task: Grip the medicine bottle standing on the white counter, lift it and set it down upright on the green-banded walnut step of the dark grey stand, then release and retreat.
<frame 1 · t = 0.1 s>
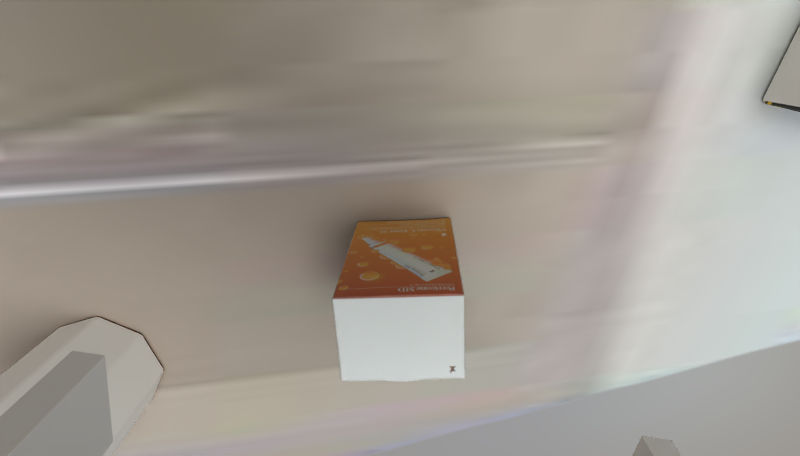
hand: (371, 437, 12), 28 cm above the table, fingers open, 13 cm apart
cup: (109, 362, 46), on the table
small box: (405, 250, 41), on the table
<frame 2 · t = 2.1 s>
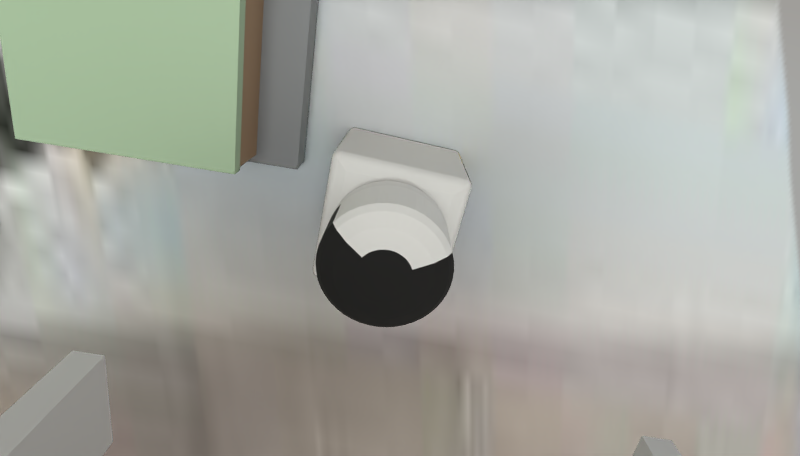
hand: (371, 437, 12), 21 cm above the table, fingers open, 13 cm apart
medicine bottle: (393, 189, 31), on the table
stand: (178, 40, 28), on the table
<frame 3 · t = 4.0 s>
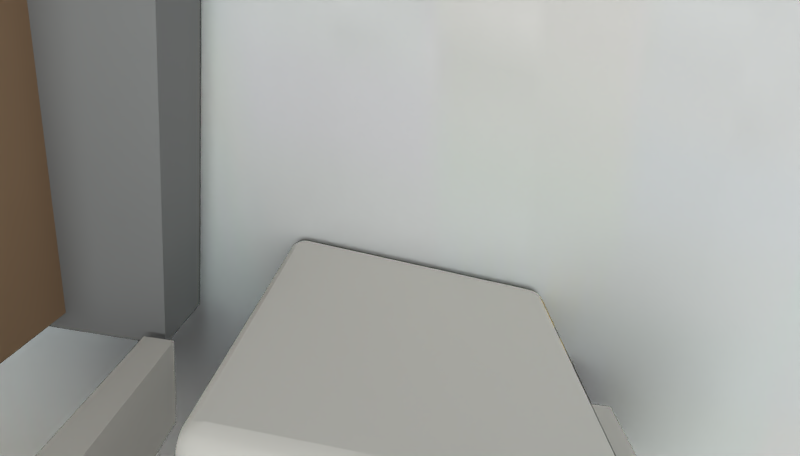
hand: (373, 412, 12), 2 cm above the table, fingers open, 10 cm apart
medicine bottle: (393, 357, 15), on the table
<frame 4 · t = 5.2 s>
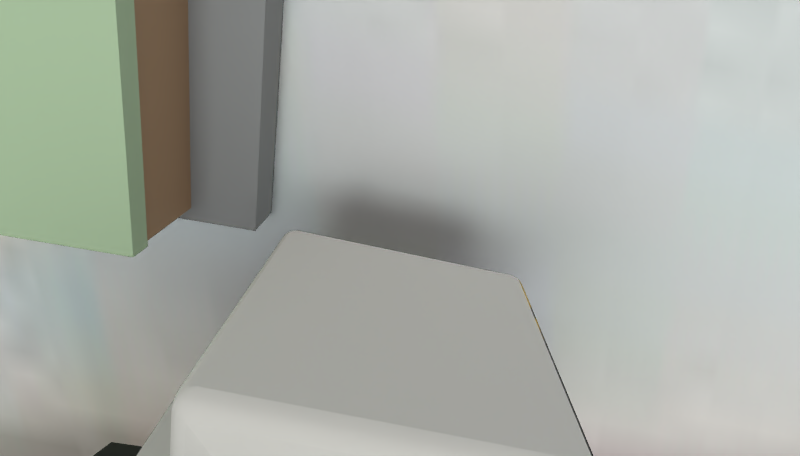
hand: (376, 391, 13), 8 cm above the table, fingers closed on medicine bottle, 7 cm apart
medicine bottle: (383, 342, 15), point 6 cm above the table, touching gripper
stand: (67, 28, 17), on the table
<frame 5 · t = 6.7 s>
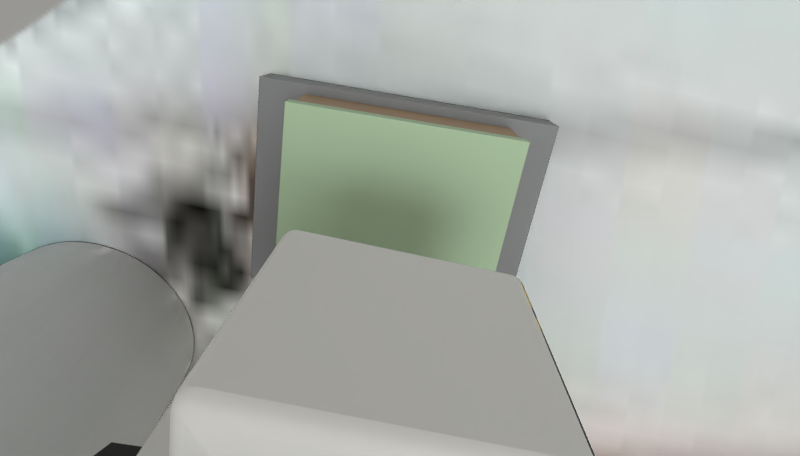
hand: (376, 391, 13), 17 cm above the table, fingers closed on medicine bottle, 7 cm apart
medicine bottle: (383, 342, 15), point 15 cm above the table, touching gripper
utensil holder: (103, 324, 33), on the table
stand: (394, 196, 29), on the table
when the fingers open (9 cm above the table, at t = 8.6 s): medicine bottle stays where it is, resting on stand.
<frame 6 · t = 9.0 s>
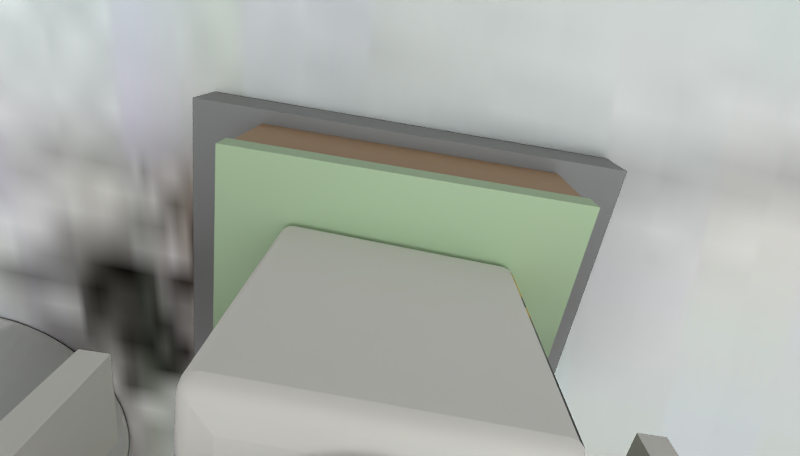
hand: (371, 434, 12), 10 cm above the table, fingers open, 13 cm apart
medicine bottle: (379, 334, 16), point 6 cm above the table, touching stand
utensil holder: (11, 412, 25), on the table
stand: (390, 257, 21), on the table
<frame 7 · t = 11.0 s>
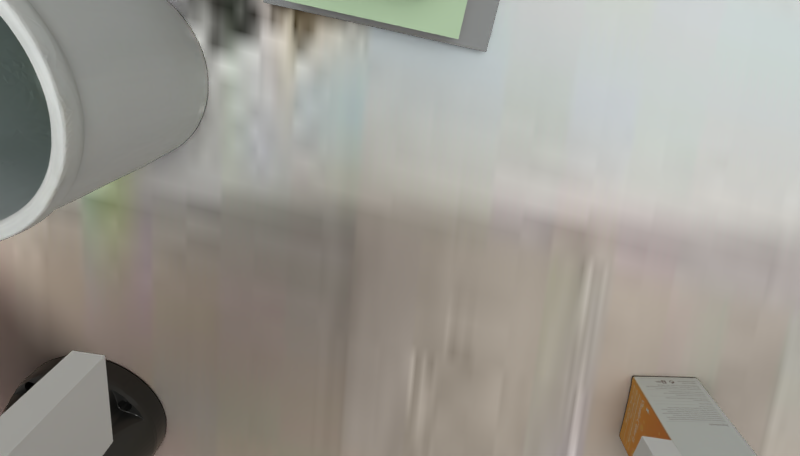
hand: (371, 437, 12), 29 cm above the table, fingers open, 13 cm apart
utensil holder: (127, 69, 37), on the table
small box: (654, 405, 47), on the table
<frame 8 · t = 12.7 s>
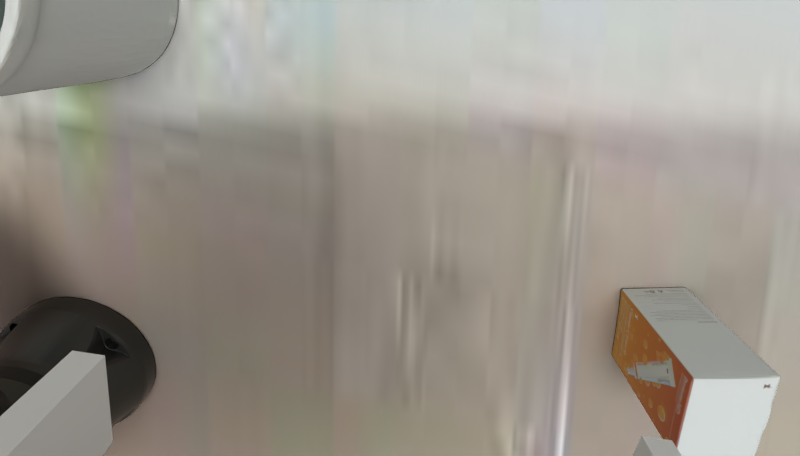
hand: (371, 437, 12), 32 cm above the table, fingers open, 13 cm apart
small box: (645, 320, 47), on the table
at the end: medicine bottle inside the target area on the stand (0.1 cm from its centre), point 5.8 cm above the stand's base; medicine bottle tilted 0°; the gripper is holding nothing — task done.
